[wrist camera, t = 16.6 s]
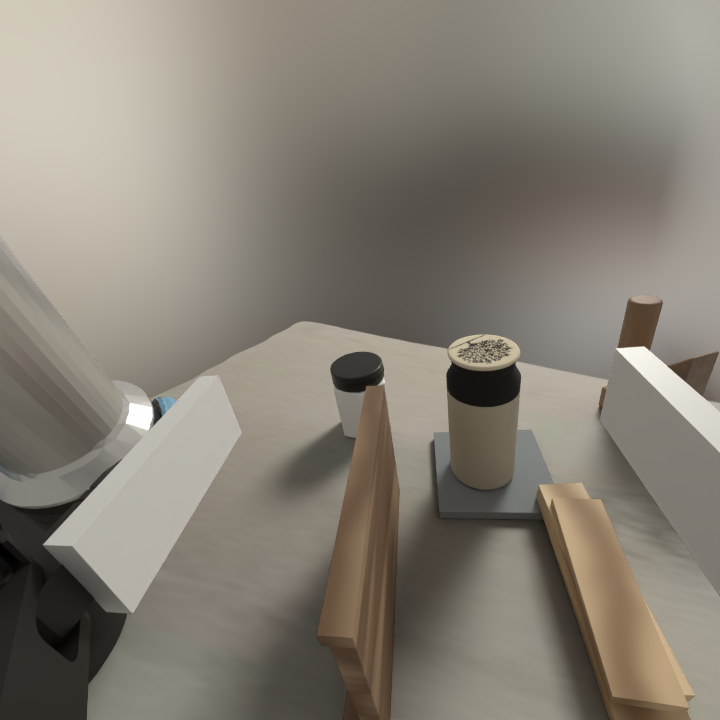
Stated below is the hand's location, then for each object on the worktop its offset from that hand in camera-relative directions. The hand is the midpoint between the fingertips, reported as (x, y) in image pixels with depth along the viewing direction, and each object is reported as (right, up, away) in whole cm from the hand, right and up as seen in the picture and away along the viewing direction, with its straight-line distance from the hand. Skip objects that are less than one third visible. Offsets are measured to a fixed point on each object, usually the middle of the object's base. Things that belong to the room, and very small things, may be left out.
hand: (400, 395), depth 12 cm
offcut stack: (+21, -20, +22) cm, 36 cm away
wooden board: (+2, -22, +26) cm, 34 cm away
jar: (0, -10, +49) cm, 50 cm away
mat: (+16, -14, +36) cm, 42 cm away
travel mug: (+15, -13, +36) cm, 41 cm away
